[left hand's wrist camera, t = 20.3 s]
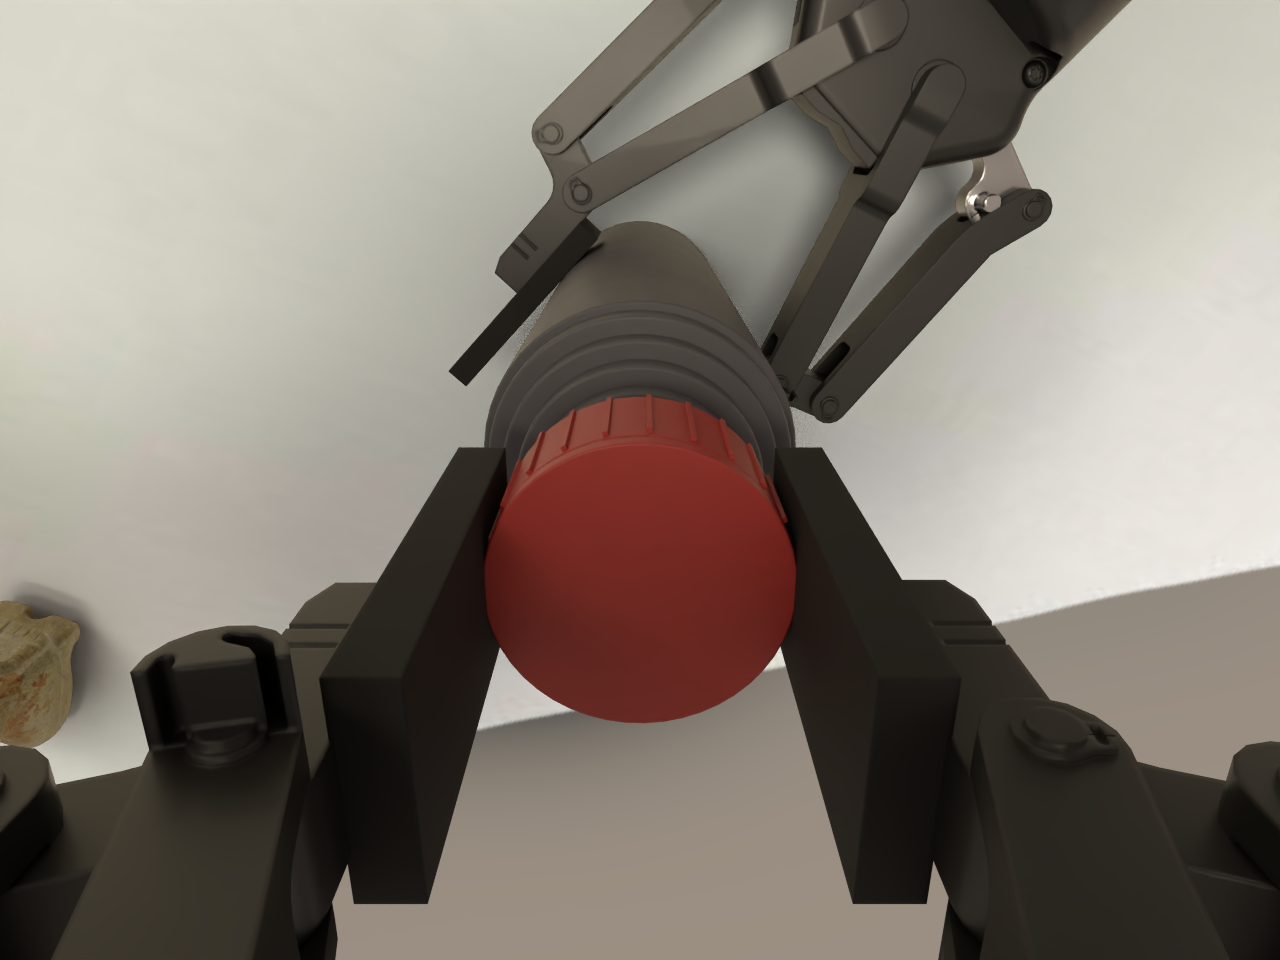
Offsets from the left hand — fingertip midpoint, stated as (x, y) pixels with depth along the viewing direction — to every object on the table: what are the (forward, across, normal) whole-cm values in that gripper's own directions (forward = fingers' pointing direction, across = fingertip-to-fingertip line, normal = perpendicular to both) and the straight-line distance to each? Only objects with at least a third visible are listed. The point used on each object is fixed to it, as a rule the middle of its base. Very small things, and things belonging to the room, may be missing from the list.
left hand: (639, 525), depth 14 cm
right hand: (+16, -4, -4) cm, 17 cm away
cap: (-2, 0, 0) cm, 2 cm away
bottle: (+23, 0, 0) cm, 23 cm away
